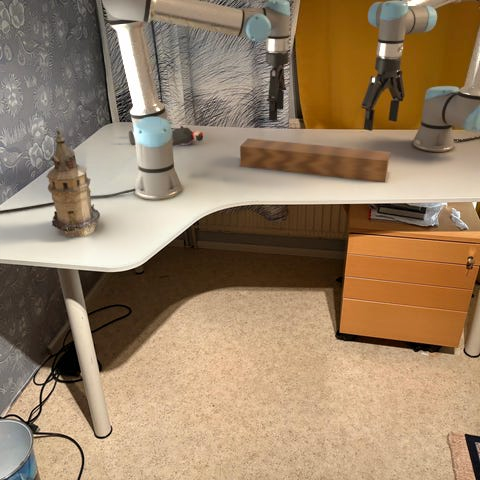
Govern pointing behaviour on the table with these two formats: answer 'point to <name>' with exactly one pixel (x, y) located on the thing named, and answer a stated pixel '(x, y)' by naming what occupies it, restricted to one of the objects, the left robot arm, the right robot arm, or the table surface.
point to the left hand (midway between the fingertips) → (276, 114)
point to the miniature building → (70, 193)
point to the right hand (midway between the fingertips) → (380, 125)
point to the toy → (178, 136)
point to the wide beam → (315, 159)
